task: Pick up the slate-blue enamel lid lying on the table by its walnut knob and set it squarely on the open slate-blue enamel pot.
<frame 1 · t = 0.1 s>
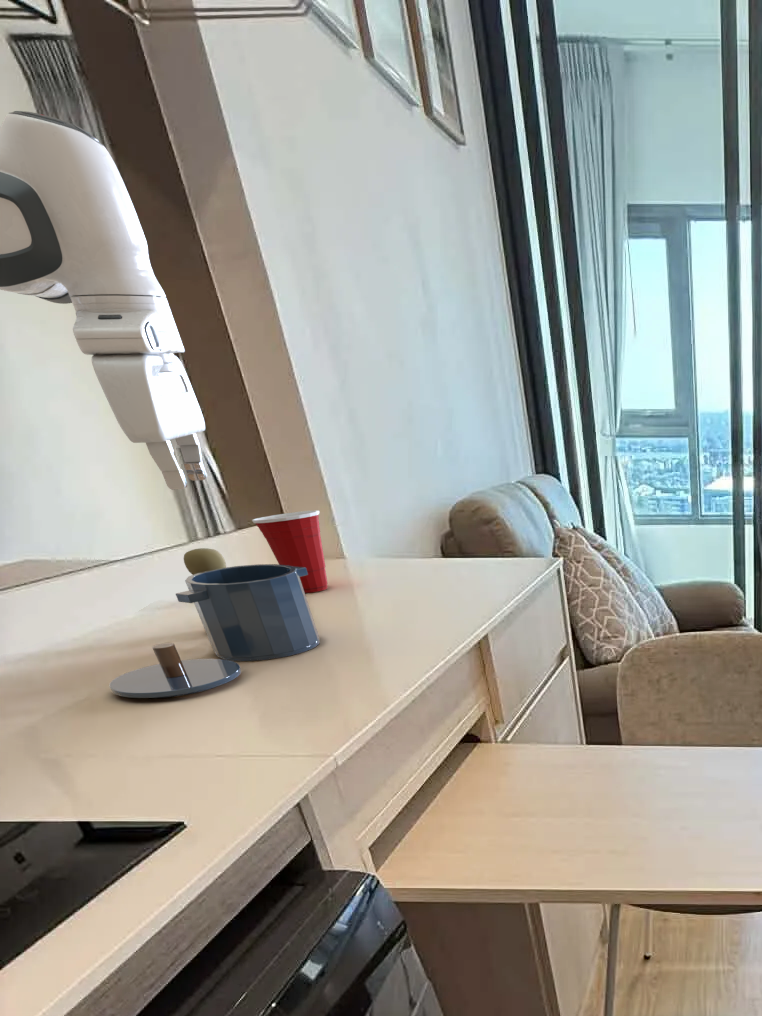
hand: (189, 484, 99), 21 cm above the counter, tool pointing down, fingers open, 8 cm apart
cork: (231, 631, 129), on the counter
pot: (268, 647, 121), on the counter
plastic cup: (310, 590, 151), on the counter
lid: (178, 679, 107), point 1 cm above the counter
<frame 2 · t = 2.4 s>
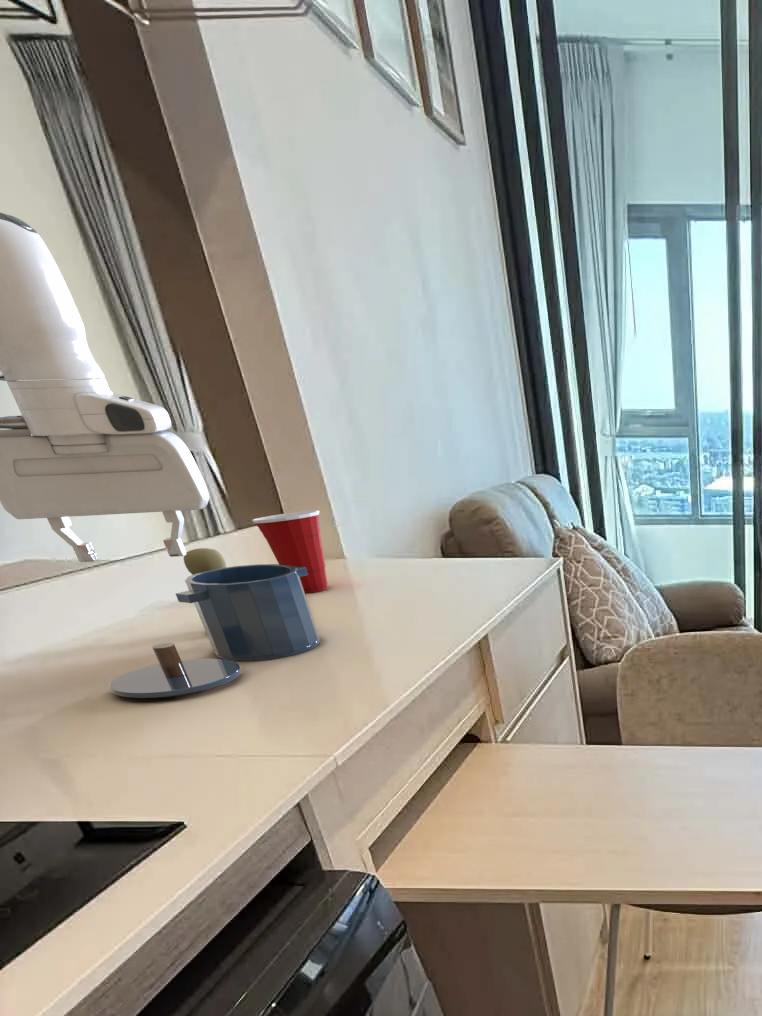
hand: (134, 558, 99), 14 cm above the counter, tool pointing down, fingers open, 8 cm apart
nothing on the counter moved.
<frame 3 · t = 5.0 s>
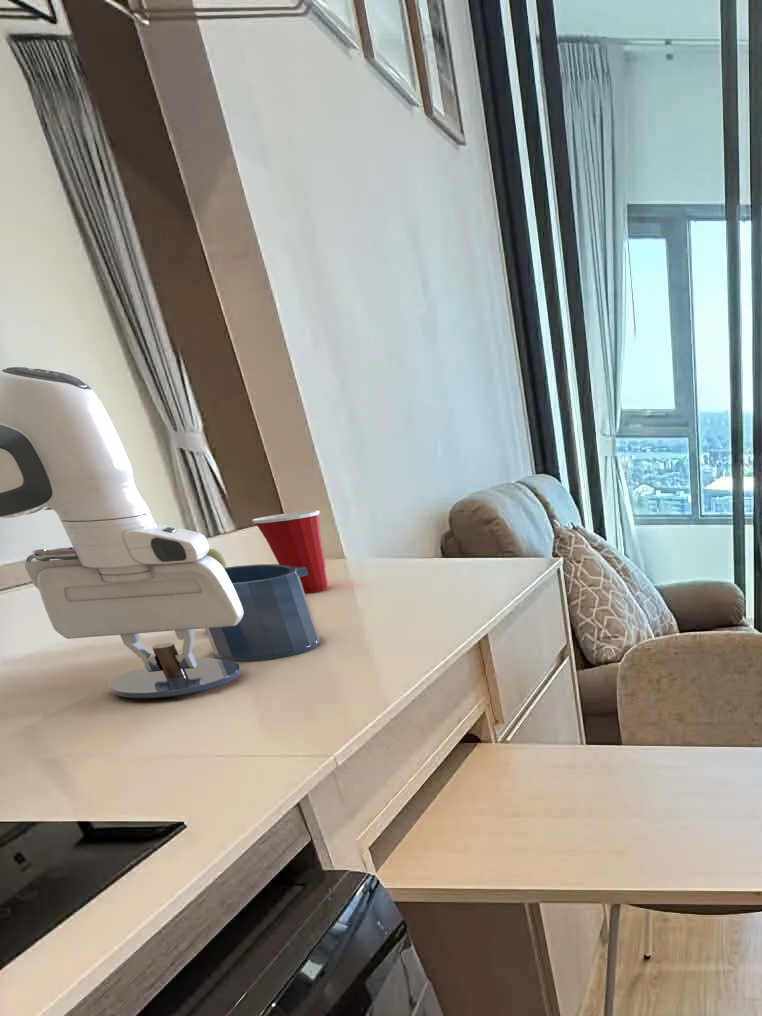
hand: (173, 669, 106), 2 cm above the counter, tool pointing down, fingers closed on lid, 2 cm apart
lid: (177, 679, 107), point 1 cm above the counter, touching gripper
everything else where it was.
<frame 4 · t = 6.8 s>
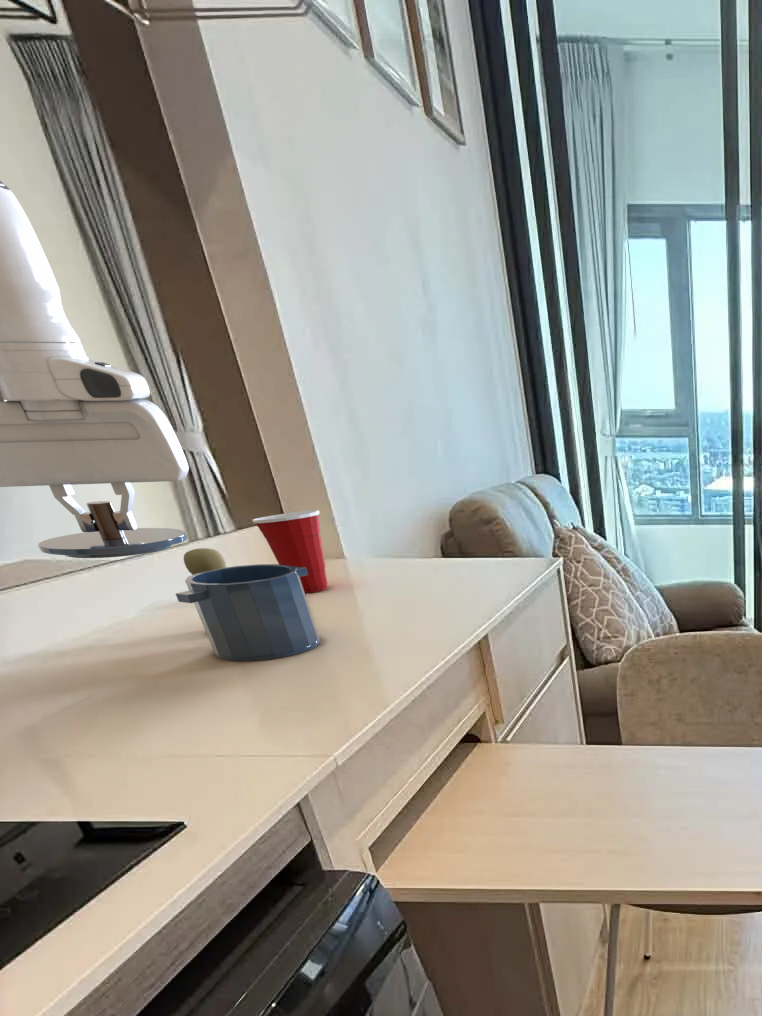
hand: (111, 530, 97), 17 cm above the counter, tool pointing down, fingers closed on lid, 2 cm apart
lid: (116, 543, 97), point 16 cm above the counter, touching gripper
everything else where it was.
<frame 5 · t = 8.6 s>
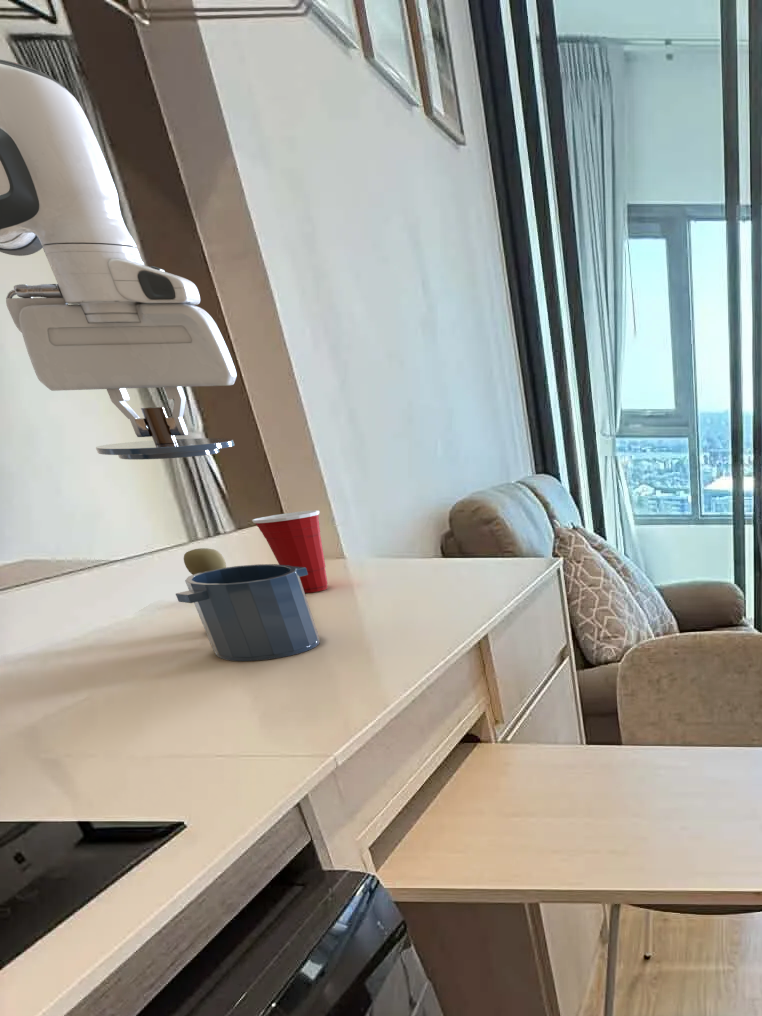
hand: (163, 436, 101), 25 cm above the counter, tool pointing down, fingers closed on lid, 2 cm apart
lid: (168, 449, 102), point 24 cm above the counter, touching gripper
everything else where it was.
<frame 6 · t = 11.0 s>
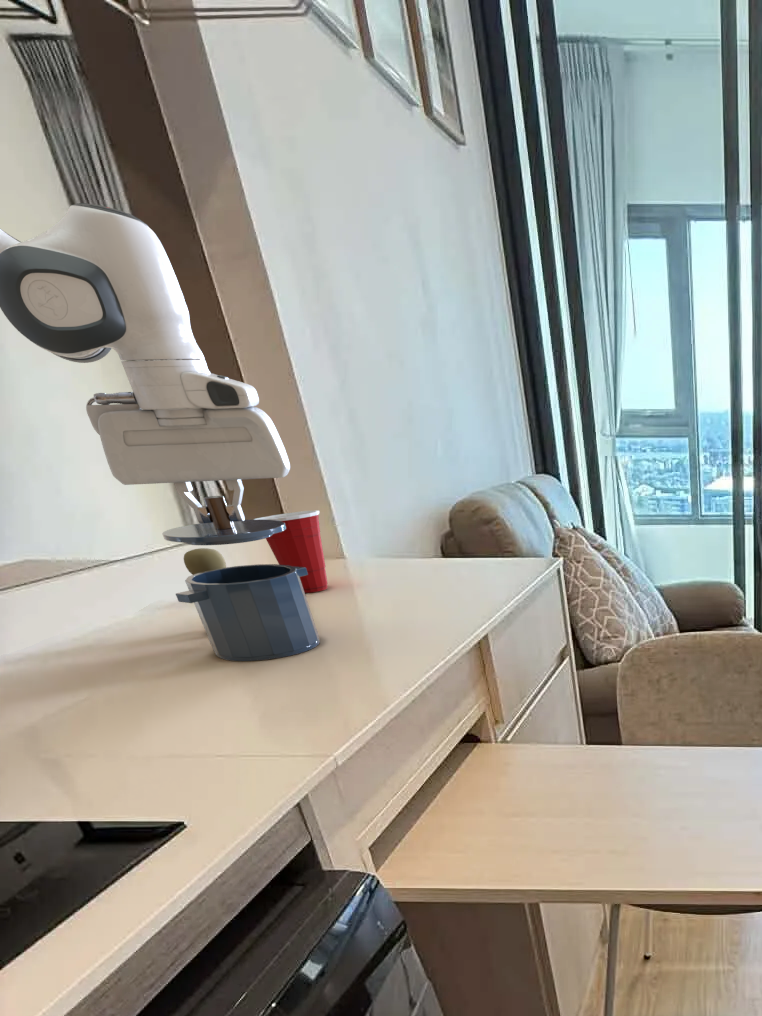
hand: (222, 521, 111), 16 cm above the counter, tool pointing down, fingers closed on lid, 2 cm apart
lid: (226, 533, 112), point 14 cm above the counter, touching gripper
everything else where it was.
when the fingers open (11 cm above the counter, at t = 12.6 s): lid stays where it is, resting on pot.
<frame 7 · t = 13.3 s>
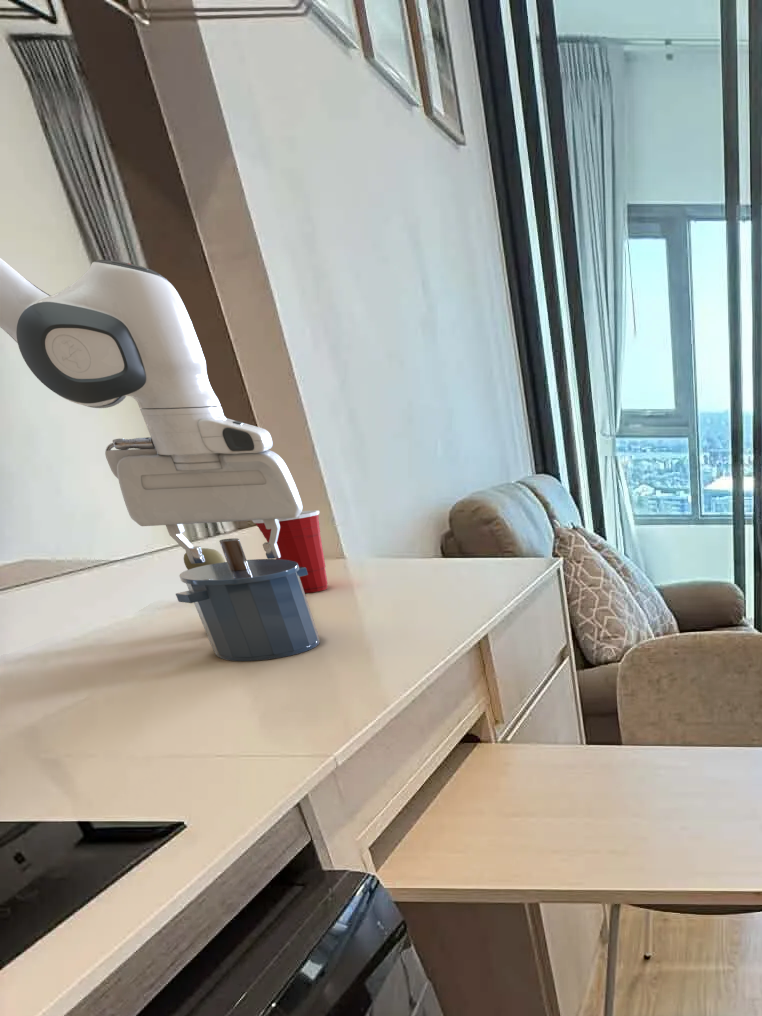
hand: (236, 560, 114), 11 cm above the counter, tool pointing down, fingers open, 8 cm apart
lid: (241, 574, 115), point 9 cm above the counter, touching pot
everything else where it was.
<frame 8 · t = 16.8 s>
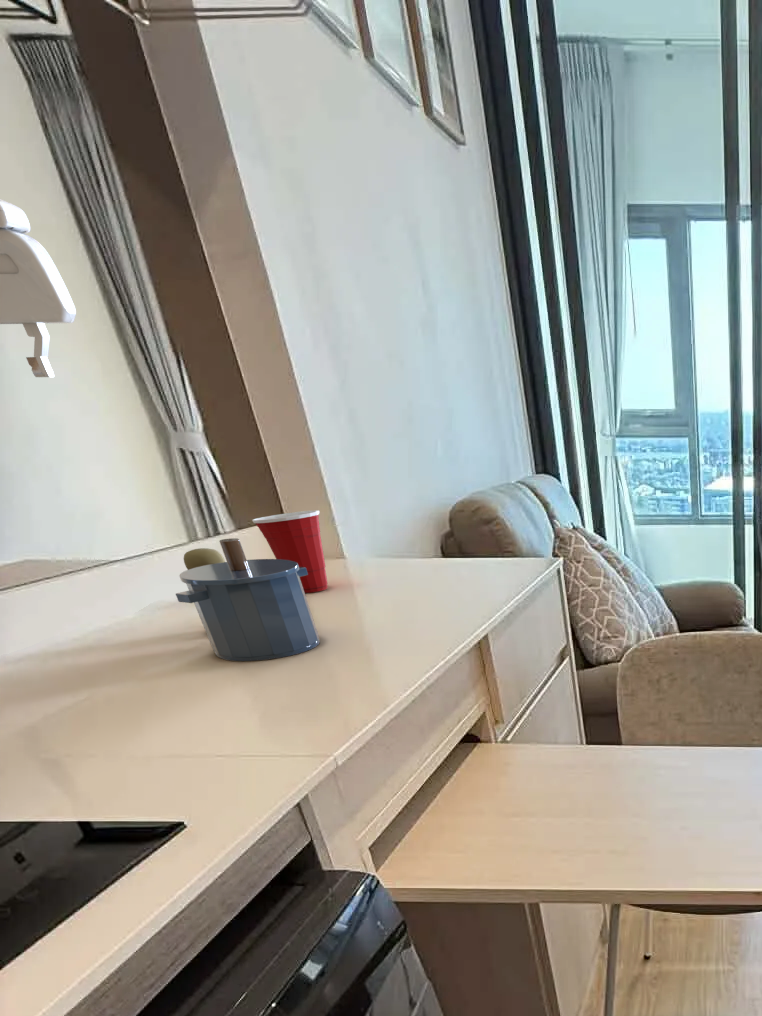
nothing on the counter moved.
at the end: lid 0.1 cm off-centre on the pot, point 9.5 cm above the pot's base; lid tilted 0° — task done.
